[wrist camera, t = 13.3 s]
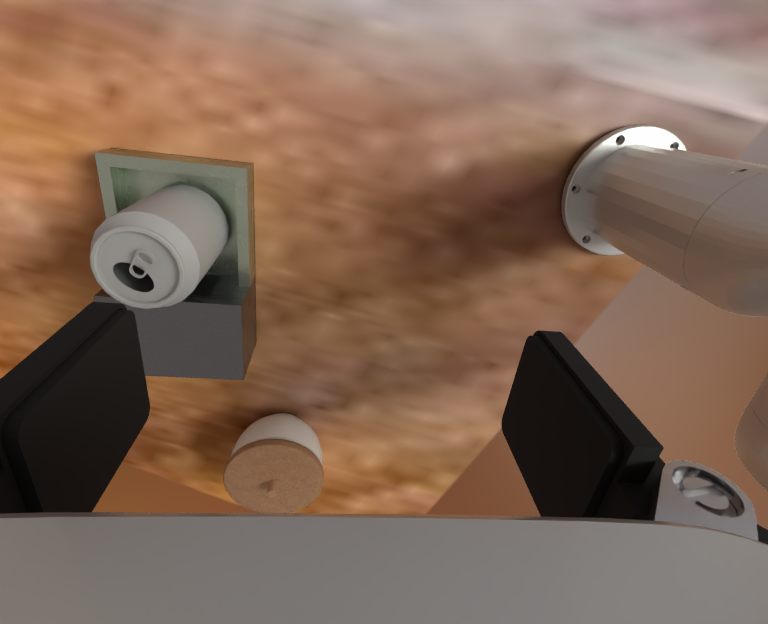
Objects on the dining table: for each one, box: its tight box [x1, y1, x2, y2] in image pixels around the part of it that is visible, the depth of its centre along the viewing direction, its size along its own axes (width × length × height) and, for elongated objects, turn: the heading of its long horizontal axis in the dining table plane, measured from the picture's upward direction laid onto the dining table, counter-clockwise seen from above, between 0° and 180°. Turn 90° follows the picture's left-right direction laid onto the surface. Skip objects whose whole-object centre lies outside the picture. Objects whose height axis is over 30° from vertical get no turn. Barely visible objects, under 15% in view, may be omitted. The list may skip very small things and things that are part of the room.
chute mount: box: [94, 148, 256, 380], centre depth 40 cm, size 12×19×7 cm, turn 173°
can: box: [90, 184, 229, 309], centre depth 35 cm, size 8×8×12 cm
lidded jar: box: [223, 413, 324, 513], centre depth 50 cm, size 11×11×9 cm
